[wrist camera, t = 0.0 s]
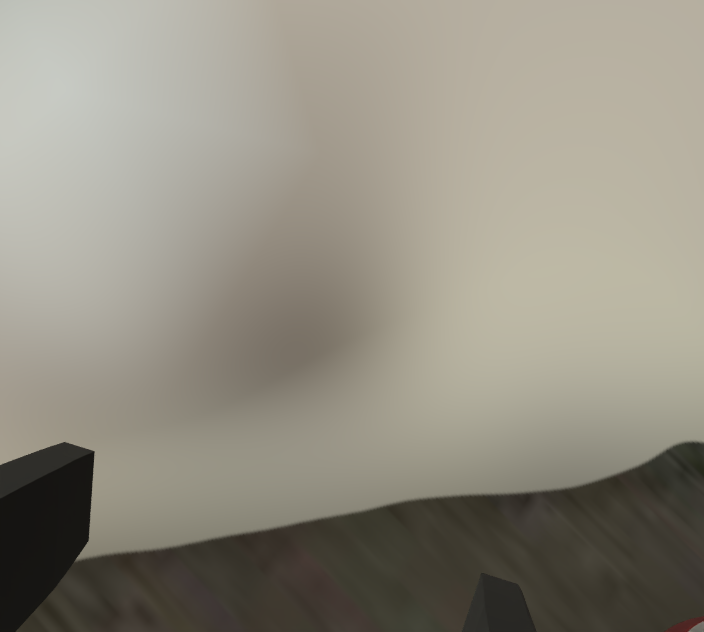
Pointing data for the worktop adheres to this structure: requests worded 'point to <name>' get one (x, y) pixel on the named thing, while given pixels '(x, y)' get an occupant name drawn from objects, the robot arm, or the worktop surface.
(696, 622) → the mug
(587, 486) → the worktop surface
